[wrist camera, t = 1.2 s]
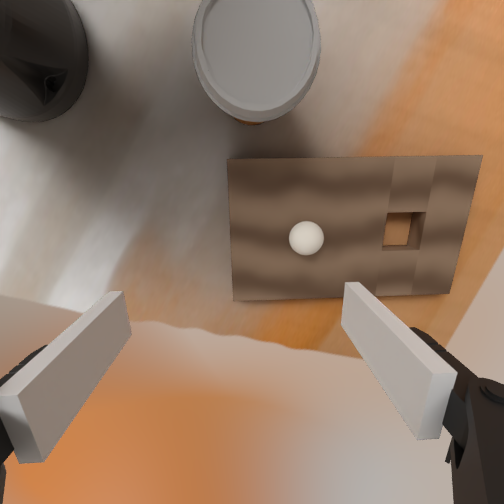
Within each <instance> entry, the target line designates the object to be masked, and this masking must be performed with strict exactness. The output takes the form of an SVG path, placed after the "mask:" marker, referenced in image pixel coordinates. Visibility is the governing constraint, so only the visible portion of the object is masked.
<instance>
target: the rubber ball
mask: <svg viewBox="0 0 504 504" xmlns="http://www.w3.org/2000/svg"><path fill="white" fill-rule="evenodd" d="M323 241H324V235H323V232H322V230H321V228H320V227H319V226H318V225H317V224H315V223H313V222H310V221H303V222H300V223H298V224H296V225H295V226H294V227H293V228H292V230H291V231H290V234H289V242H290V245H291V247H292V249H293V250H294V251H295V252H297V253H299V254H301V255H311V254H314V253H316V252H317V251H318V250H319V249H320V248H321V246H322V244H323Z"/></svg>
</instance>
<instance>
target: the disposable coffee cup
mask: <svg viewBox="0 0 504 504" xmlns="http://www.w3.org/2000/svg"><path fill="white" fill-rule="evenodd" d="M320 53H321V36H320V30H319V24H318V19H317V15H316V12H315V8H314V5H313V2H312V0H202V3H201V4H200V6H199V9H198V11H197V14H196V17H195V21H194V25H193V32H192V56H193V61H194V66H195V70H196V73H197V75H198V78H199V80H200V82H201V85H202V87H203V88H204V90H205V91H206V93H207V94H208V96H209V97H210V99H211V100H212V101H213V102H214V103H215V104H216V105H217V106H218V107H219V108H221V109H222V110H223V111H224V112H226V113H227V114H229V115H231V116H233V117H234V118H235V119H236V120H237V121H239V122H241V123H243V124H246V125H258V124H261V123H263V122H265V121H269V120H273V119H276V118H278V117H281V116H283V115H284V114H286V113H288V112H289V111H290V110H292V109H293V108H294V107H295V106H296V105H297V104H298V103H299V102H300V101H301V100H302V99H303V98H304V96H305V95H306V93H307V92H308V90H309V89H310V87H311V85H312V83H313V80H314V78H315V76H316V73H317V69H318V66H319V60H320Z"/></svg>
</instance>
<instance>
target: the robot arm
mask: <svg viewBox="0 0 504 504" xmlns="http://www.w3.org/2000/svg"><path fill="white" fill-rule="evenodd" d="M87 70H88V48H87V42H86V37H85V33H84V29H83V26H82V23H81V21H80V18H79V16H78V14H77V12H76V10H75V8H74V6H73V4H72V2H71V1H70V0H0V116H3V117H7V118H11V119H15V120H20V121H26V122H39V121H45V120H49V119H52V118H55V117H57V116H59V115H61V114H62V113H64V112H65V111H66V110H68V109H69V108H70V107H71V106H72V105H73V104H74V102H75V101H76V100H77V98H78V97H79V95H80V93H81V91H82V89H83V86H84V84H85V80H86V76H87ZM341 326H342V327H343V329H344V330H345V332H346V333H347V335H348V336H349V338H350V339H351V341H352V342H353V344H354V345H355V347H356V349H357V350H358V352H359V353H360V355H361V356H362V358H363V359H364V361H365V362H366V363H367V365H368V367H369V368H370V370H371V371H372V373H373V374H374V376H375V377H376V379H377V380H378V382H379V383H380V385H381V386H382V388H383V389H384V391H385V393H386V394H387V395H388V397H389V399H390V400H391V402H392V403H393V405H394V406H395V408H396V409H397V410H398V412H399V414H400V415H401V417H402V418H403V420H404V421H405V423H406V424H407V426H408V427H409V429H410V430H411V432H412V433H413V435H414V436H415V438H416V439H417V440H425V439H439V437H440V434H441V430H442V426H443V425H444V427H445V428H446V429H447V430H448V432H449V433H450V434H451V435H452V440H451V443H450V446H449V450H448V453H447V456H446V460H445V462H447V463H450V460H451V467H452V482H453V483H452V484H453V499H454V504H504V385H503V384H501V383H498V382H496V381H493V380H490V379H486V378H478V377H477V376H476V375H475V374H474V373H472V372H471V371H470V370H469V369H468V368H467V367H465V366H464V365H463V364H462V363H461V362H460V361H458V360H457V359H456V358H455V357H454V356H452V354H450V353H449V352H447V351H446V349H445V348H443V347H442V346H441V345H438V342H436V341H435V340H434V339H433V338H432V337H431V336H429V335H428V334H426V333H425V332H423V331H421V330H419V329H417V328H415V327H410V328H408V327H407V326H406V325H405V324H404V323H403V322H402V321H401V320H400V319H399V318H398V317H396V316H395V315H394V314H393V313H392V312H391V311H390V310H389V309H388V308H387V307H386V306H384V305H383V304H382V303H381V302H380V301H379V300H378V299H377V298H376V297H375V296H374V295H373V294H371V293H370V292H369V291H368V290H367V289H366V288H365V287H364V286H363V285H362V284H361V283H359V282H345V289H344V299H343V310H342V320H341ZM131 335H132V333H131V328H130V323H129V318H128V313H127V308H126V303H125V298H124V293H123V291H112V292H108V293H107V294H106V295H104V296H103V297H102V298H101V299H100V300H99V301H98V302H96V303H95V304H94V305H93V306H92V307H91V308H90V309H89V310H87V311H86V312H85V313H84V314H83V315H82V316H81V317H80V318H78V319H77V320H76V321H75V322H74V323H73V324H72V325H70V326H69V327H68V328H67V329H66V330H65V331H64V332H62V333H61V334H60V335H59V336H58V337H57V338H56V339H55V340H53V341H52V342H51V343H50V344H49V345H45V346H43V347H41V348H40V349H38V350H36V351H34V352H33V353H31V354H30V355H28V356H27V357H26V358H25V359H24V360H23V361H21V362H20V363H19V365H18V366H16V367H14V368H13V369H12V370H11V371H10V372H9V374H6V375H5V376H4V377H3V378H1V379H0V504H2V503H3V494H4V486H5V478H6V469H5V466H4V463H3V462H4V461H5V460H6V459H7V458H8V456H9V455H10V454H11V453H12V452H13V450H14V453H15V455H16V457H17V459H18V462H19V464H22V463H37V462H44V461H45V460H46V458H47V457H48V456H49V454H50V453H51V451H52V450H53V448H54V447H55V445H56V444H57V442H58V441H59V440H60V438H61V437H62V435H63V434H64V432H65V431H66V429H67V428H68V426H69V425H70V423H71V422H72V421H73V419H74V418H75V416H76V415H77V413H78V412H79V410H80V409H81V407H82V406H83V404H84V403H85V402H86V400H87V399H88V397H89V396H90V394H91V393H92V391H93V390H94V389H95V387H96V386H97V384H98V383H99V381H100V380H101V378H102V377H103V376H104V374H105V373H106V371H107V370H108V368H109V367H110V365H111V364H112V362H113V361H114V359H115V358H116V357H117V355H118V353H119V352H120V351H121V349H122V348H123V346H124V345H125V344H126V342H127V341H128V339H129V338H130V336H131Z"/></svg>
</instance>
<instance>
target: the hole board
mask: <svg viewBox="0 0 504 504" xmlns="http://www.w3.org/2000/svg"><path fill="white" fill-rule="evenodd" d="M482 158H483V155H454V156H390V157H327V158H263V159H227V171H228V194H229V216H230V239H231V262H232V284H233V301H250V300H279V299H309V298H339V297H344V289H345V282H359V283H361V284H362V285H363V286H364V287H365V288H366V289H367V290H368V291H369V292H370V293H371V294H373V295H374V296H398V295H428V294H449V293H450V289H451V285H452V281H453V277H454V273H455V269H456V265H457V261H458V256H459V252H460V248H461V244H462V240H463V236H464V232H465V228H466V224H467V219H468V215H469V211H470V207H471V203H472V199H473V195H474V191H475V187H476V183H477V178H478V174H479V170H480V166H481V162H482ZM390 212H413V214H412V220H411V226H410V231H409V237H408V243H407V245H387V246H382V245H383V238H384V232H385V225H386V218H387V213H390ZM303 221H310V222H313V223H315V224H317V225H318V226H319V227H320V228H321V230H322V232H323V235H324V241H323V244H322V246H321V248H320V249H319V250H318V251H317V252H316V253H314V254H311V255H301V254H299V253H297V252H295V251H294V250H293V249H292V247H291V245H290V242H289V234H290V231H291V230H292V228H293V227H294V226H295V225H296V224H298V223H300V222H303Z"/></svg>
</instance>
